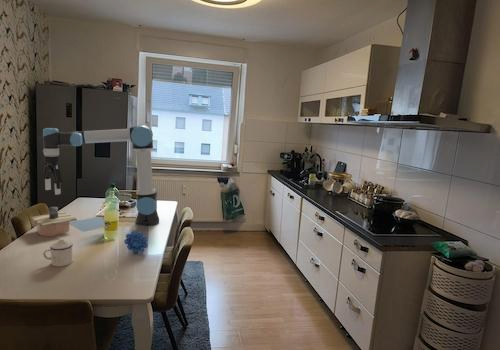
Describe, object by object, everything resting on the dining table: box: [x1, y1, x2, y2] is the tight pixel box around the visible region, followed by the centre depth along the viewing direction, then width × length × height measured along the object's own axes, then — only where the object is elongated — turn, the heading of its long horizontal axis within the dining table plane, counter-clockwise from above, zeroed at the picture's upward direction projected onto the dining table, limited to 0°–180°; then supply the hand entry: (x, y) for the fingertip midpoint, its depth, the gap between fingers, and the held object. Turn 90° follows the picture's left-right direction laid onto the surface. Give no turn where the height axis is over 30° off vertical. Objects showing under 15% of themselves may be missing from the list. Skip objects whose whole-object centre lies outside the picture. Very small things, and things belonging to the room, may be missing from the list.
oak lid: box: [30, 206, 78, 227], centre depth 193 cm, size 18×18×7 cm
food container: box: [118, 191, 132, 202], centre depth 256 cm, size 12×6×10 cm, turn 84°
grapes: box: [124, 230, 149, 254], centre depth 171 cm, size 12×7×12 cm, turn 105°
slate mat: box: [70, 216, 105, 233], centre depth 210 cm, size 22×22×1 cm
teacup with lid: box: [42, 238, 73, 268], centre depth 155 cm, size 12×9×12 cm
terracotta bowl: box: [36, 222, 71, 237], centre depth 194 cm, size 16×16×7 cm
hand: (52, 192), depth 191 cm, fingers open, 13 cm apart
